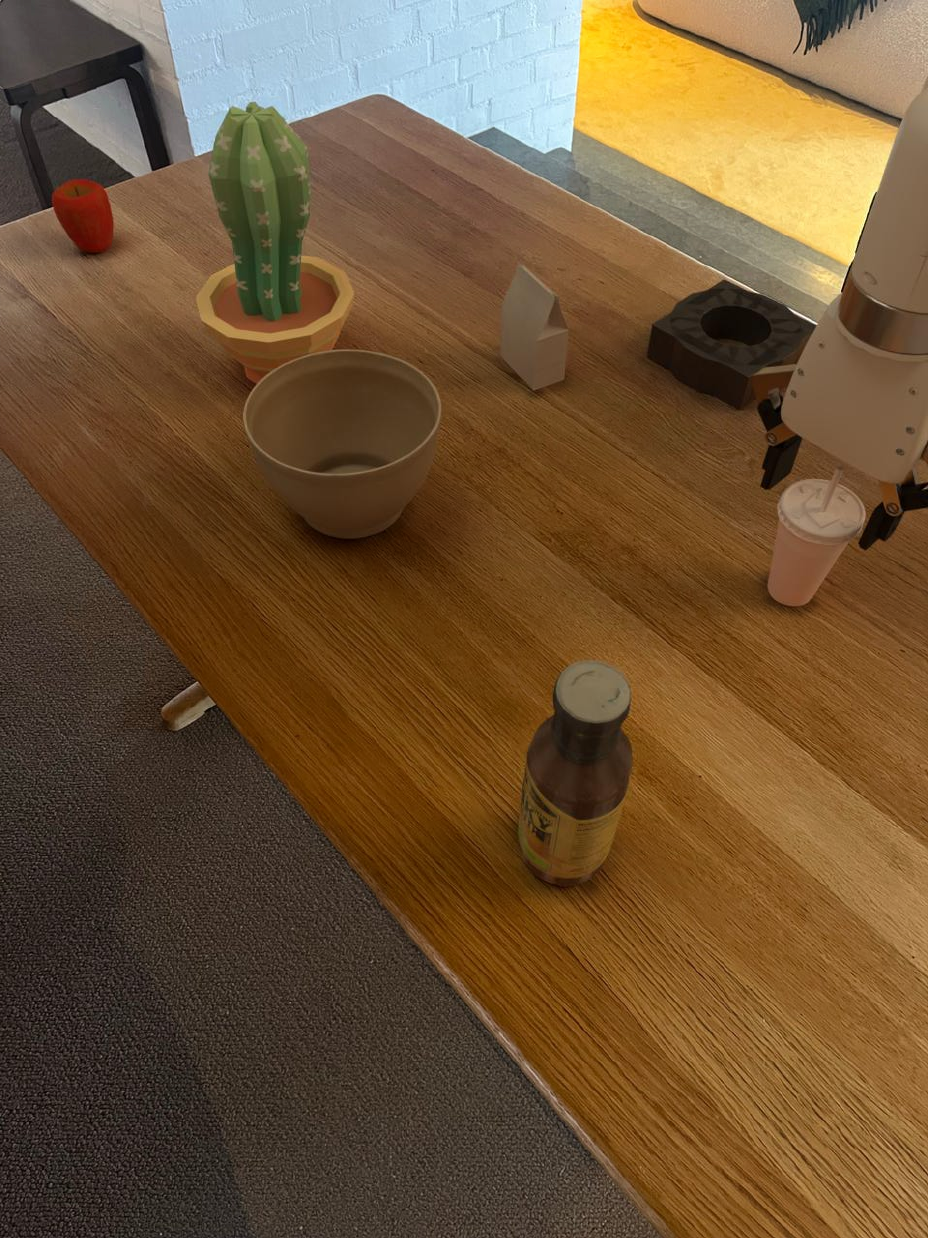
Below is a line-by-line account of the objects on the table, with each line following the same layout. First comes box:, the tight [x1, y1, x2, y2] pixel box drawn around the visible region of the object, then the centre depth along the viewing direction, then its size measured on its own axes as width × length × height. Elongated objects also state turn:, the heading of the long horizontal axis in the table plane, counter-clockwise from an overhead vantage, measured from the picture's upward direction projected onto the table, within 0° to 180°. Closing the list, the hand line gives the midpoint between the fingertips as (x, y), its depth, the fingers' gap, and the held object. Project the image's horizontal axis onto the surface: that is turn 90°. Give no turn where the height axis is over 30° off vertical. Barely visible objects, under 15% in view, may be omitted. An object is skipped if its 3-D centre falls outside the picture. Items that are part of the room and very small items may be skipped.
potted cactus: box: [195, 101, 355, 385], centre depth 90 cm, size 15×15×25 cm
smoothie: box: [767, 465, 867, 607], centre depth 75 cm, size 6×6×14 cm
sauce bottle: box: [517, 659, 634, 888], centre depth 58 cm, size 6×6×20 cm
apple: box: [51, 178, 115, 254], centre depth 111 cm, size 6×6×8 cm
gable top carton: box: [499, 263, 570, 392], centre depth 95 cm, size 4×7×10 cm, turn 29°
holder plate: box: [646, 278, 817, 411], centre depth 99 cm, size 13×13×4 cm
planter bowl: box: [242, 348, 443, 540], centre depth 82 cm, size 16×16×11 cm
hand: (822, 508), depth 73 cm, fingers open, 8 cm apart
